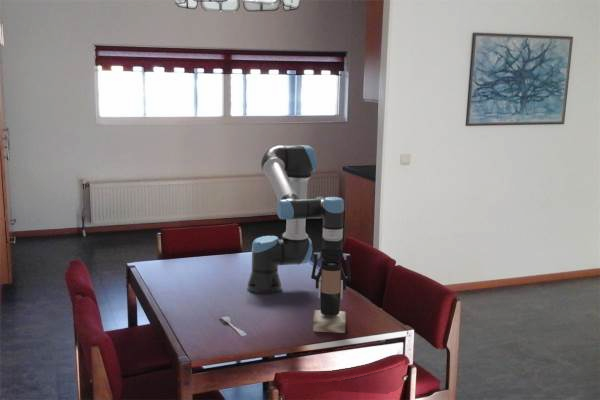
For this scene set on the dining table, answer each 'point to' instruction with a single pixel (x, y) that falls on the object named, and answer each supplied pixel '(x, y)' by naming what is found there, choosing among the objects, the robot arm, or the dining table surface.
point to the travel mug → (330, 288)
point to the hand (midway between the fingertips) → (330, 297)
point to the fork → (234, 326)
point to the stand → (329, 322)
